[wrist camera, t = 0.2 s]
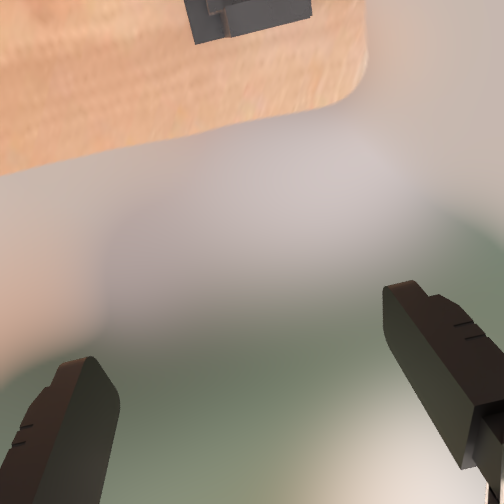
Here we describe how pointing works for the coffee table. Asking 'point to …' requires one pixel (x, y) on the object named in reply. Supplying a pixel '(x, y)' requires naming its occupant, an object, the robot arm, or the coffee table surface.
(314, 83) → the coffee table surface
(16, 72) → the coffee table surface
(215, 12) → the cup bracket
